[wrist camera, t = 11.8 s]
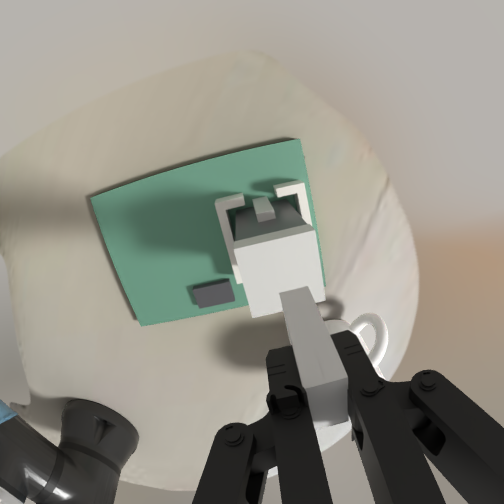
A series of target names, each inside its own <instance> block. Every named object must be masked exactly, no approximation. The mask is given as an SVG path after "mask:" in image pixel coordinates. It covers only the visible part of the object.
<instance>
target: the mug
mask: <svg viewBox="0 0 504 504" xmlns="http://www.w3.org/2000/svg"><path fill="white" fill-rule="evenodd" d="M324 323H325V325H326V327H327V329H328V332H329V334H330V335H331V334H335V333H338V332H342V331H345V330H349V331H351V332H352V333H354V334H355V335H356V336H357V337H358V339H359V341H360V343H361V345H362V346H363V348H364V351H365V352H366V354H367V356H368V358H369V359H370V361H371V363H372V365H373V367H374V369H375V371H376V373H377V374H378V375H379V377H382V378H384V376H383V374H382V372H381V371H380V369H379V367H378V364H379V363H380V361H381V359H382V358H383V356H384V354H385V351H386V348H387V344H388V331H387V327H386V324H385V322H384V321H383V319H382V318H381V317H380V316H378V315H377V314H374V313H366V314H363V315H361V316H359V317H358V318H357V319H355V320H354V321H353V322H352V324H351V323H349V322H347V321H343V320H328V321H324ZM367 324H371V325H372V326H373V327H374V329H375V332H376V340H375V344H374V347H373V349H372V350H371V352H370V351H369V349H368V347H367V346H366V344H365V342H364V341H363V339H362V337H361V335H360V334H359V332H360V331H361V329H362V328H363V327H364V326H366V325H367ZM384 379H385V378H384ZM349 421H350V417H349Z"/></svg>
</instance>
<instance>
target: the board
mask: <svg viewBox="0 0 504 504" xmlns="http://www.w3.org/2000/svg"><path fill="white" fill-rule="evenodd" d="M295 180H301V181H302V182H304V184H305V189H306V194H307V200H308V205H309V210H310V216H311V222H312V227H313V228H314V229H315V232H316V238H317V244H318V250H319V257H320V263H321V270H322V277H323V284H324V287H325V286H326V283H325V275H324V268H323V261H322V255H321V248H320V242H319V236H318V230H317V224H316V218H315V212H314V207H313V201H312V196H311V190H310V185H309V180H308V175H307V170H306V165H305V160H304V155H303V151H302V146H301V141H300V139H294V140H289V141H284V142H279V143H274V144H270V145H265V146H260V147H256V148H252V149H247V150H243V151H239V152H235V153H231V154H227V155H223V156H219V157H215V158H211V159H207V160H204V161H200V162H197V163H193V164H189V165H186V166H183V167H179V168H176V169H172V170H169V171H166V172H163V173H159V174H156V175H153V176H150V177H147V178H144V179H141V180H138V181H135V182H132V183H129V184H126V185H123V186H121V187H118V188H115V189H112V190H110V191H107V192H104V193H101V194H99V195H96V196H94V197H92V198H90V199H91V202H92V205H93V208H94V212H95V215H96V218H97V220H98V223H99V226H100V229H101V232H102V235H103V238H104V240H105V243H106V246H107V248H108V251H109V254H110V256H111V259H112V261H113V264H114V266H115V269H116V271H117V274H118V276H119V278H120V281H121V283H122V286H123V288H124V290H125V292H126V295H127V297H128V299H129V301H130V304H131V306H132V308H133V310H134V312H135V314H136V317H137V319H138V321H139V323H140V325H141V326H147V325H152V324H158V323H163V322H169V321H174V320H179V319H184V318H189V317H195V316H200V315H204V314H209V313H214V312H219V311H224V310H228V309H233V308H238V307H242V306H247V305H249V303H248V300H247V296H246V293H245V289H244V286H243V283H240V284H237V282H236V278H235V275H234V271H233V268H232V264H231V261H230V257H229V254H228V250H227V247H226V243H225V240H224V236H223V233H222V229H221V225H220V222H219V218H218V214H217V211H216V207H215V201H216V199H219V198H223V197H227V196H231V195H235V194H239V193H243V196H244V200H245V205H244V206H240V207H236V208H231V209H228V213H229V217H230V221H231V224H232V228H233V232H234V236H236V210H241V209H245V208H249V207H253V206H254V205H253V201H252V199H256V198H260V197H265V196H267V198H268V200H269V202H274V201H279V200H283V199H287V201H288V202H289V203H290V204H291V205H292V206H293V208H294V209H295V210H296V211H297V207H296V202H295V197H294V194H291V195H287V196H282V197H277V195H276V194H275V192H274V187H273V185H277V184H282V183H286V182H291V181H295Z"/></svg>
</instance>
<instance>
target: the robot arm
mask: <svg viewBox="0 0 504 504" xmlns="http://www.w3.org/2000/svg"><path fill="white" fill-rule="evenodd" d="M279 295H280V300H281V304H282V309H283V313H284V318H285V322H286V327H287V332H288V336H289V340H290V344H291V346H286V347H282V348H278V349H273V350H269V352H268V355H267V357H266V366H267V374H268V381H269V389H270V391H269V393H268V394H267V398H266V402H267V405H268V408H269V412H268V413H267V415H266V416H264V417H263V418H262V419H260V420H259V421H257V422H254V423H252V424H250V425H248V426H247V425H246V424H243V423H230V424H228V425H225V426H223V427H222V428H221V429H220V430H218V432H217V434H216V436H215V438H214V441H213V444H212V447H211V450H210V453H209V456H208V459H207V462H206V465H205V468H204V470H203V473H202V476H201V479H200V482H199V485H198V488H197V490H196V494H195V496H194V499H193V502H192V504H261V503H262V499H263V494H264V489H265V484H266V479H267V474H268V470H269V469H271V468H273V467H275V466H277V467H278V475H279V483H280V491H281V499H282V504H333V502H332V498H331V494H330V489H329V486H328V481H327V477H326V473H325V468H324V465H323V460H322V456H321V452H320V448H319V444H318V440H317V436H316V432H315V430H317V429H321V428H325V427H329V426H332V425H336V424H340V423H343V422H346V421H349V417H350V420H351V423H352V441H354V440H355V442H356V445H357V448H358V451H359V453H360V457H361V460H362V463H363V466H364V469H365V472H366V475H367V478H368V481H369V485H370V488H371V491H372V494H373V497H374V501H375V504H446V503H445V501H444V498H443V496H442V493H441V491H440V489H439V486H438V484H437V482H436V480H435V478H434V475H433V473H432V471H431V469H430V467H429V464H428V463H427V460H426V458H425V456H424V454H425V455H426V457H427V458H428V459H429V460H430V461H431V462H432V463H433V464H434V466H435V467H436V468H437V469H438V470H439V471H440V472H441V473H442V475H443V476H444V477H445V478H446V479H447V480H448V481H449V482H450V483H451V485H452V486H453V487H454V488H455V489H456V490H457V491H458V492H459V493H460V495H461V496H462V497H463V498H464V499H465V500H466V501H467V502H468V504H504V428H503V427H502V426H501V425H500V424H499V423H497V422H496V421H495V420H494V419H493V418H492V417H490V416H489V415H488V414H487V413H486V412H485V411H484V410H483V409H482V408H480V407H479V406H478V405H477V404H476V403H475V402H473V401H472V400H471V399H470V398H469V397H468V396H466V395H465V394H464V393H463V392H462V391H460V390H459V389H458V388H457V387H456V386H455V385H453V384H452V383H451V382H450V381H449V380H448V379H446V378H445V377H444V376H443V375H442V374H440V373H438V372H437V371H434V370H423V371H420V372H418V373H416V374H415V375H414V376H413V377H412V380H411V381H406V382H389V381H386V380H385V379H384V378H382V377H379V375H378V374H377V373H376V371H375V369H374V367H373V365H372V363H371V361H370V359H369V358H368V356H367V354H366V352H365V351H364V348H363V346H362V345H361V343H360V341H359V339H358V337H357V336H356V335H355V334H354V333H352V332H351V331H349V330H345V331H342V332H338V333H335V334H331V335H330V334H329V332H328V329H327V327H326V325H325V323H324V320H323V318H322V316H321V314H320V311H319V309H318V307H317V305H316V303H315V300H314V298H313V296H312V294H311V292H310V289H309V287H308V286H305V287H301V288H297V289H293V290H289V291H284V292H280V293H279ZM138 441H139V435H138V432H137V430H136V429H135V427H134V426H133V425H132V424H131V423H130V422H129V421H128V420H126V419H125V418H124V417H123V416H121V415H120V414H118V413H116V412H115V411H113V410H111V409H109V408H107V407H105V406H103V405H100V404H97V403H94V402H91V401H86V400H73V401H70V402H68V403H67V405H66V407H65V409H64V411H63V413H62V429H61V440H60V443H59V446H58V447H57V446H55V445H54V444H53V443H51V442H50V441H49V440H47V439H46V438H45V437H43V436H42V435H41V434H40V433H38V432H37V431H36V430H35V429H34V428H32V427H31V426H30V425H29V424H28V423H26V422H25V421H24V420H23V419H22V418H21V417H20V416H19V415H18V413H17V412H14V411H13V410H12V409H11V408H9V407H8V406H7V405H6V404H5V403H4V402H3V401H2V400H0V504H24V503H25V500H26V497H27V498H29V499H31V500H32V501H34V502H35V503H36V504H114V500H115V495H116V490H117V486H118V481H119V477H120V473H121V470H122V468H123V466H124V465H125V463H126V462H127V461H128V459H129V458H130V456H131V454H133V453H134V452H135V450H136V448H137V445H138ZM423 453H424V454H423Z"/></svg>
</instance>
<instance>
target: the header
mask: <svg viewBox="0 0 504 504" xmlns="http://www.w3.org/2000/svg"><path fill="white" fill-rule="evenodd" d="M273 187H274V192H275V194H276V195H277V197H282V196H287V195H291V194H294V197H295V202H296V207H297V212H298V214H299V215H300V216H301V217H302V218H303V219H304V221H305V222H306V223H307V224H310V225H311V226H312V222H311V216H310V210H309V205H308V200H307V194H306V189H305V184H304V182H302V181H301V180H295V181H291V182H286V183H282V184H277V185H273ZM244 205H245V200H244V196H243V193H239V194H235V195H231V196H227V197H223V198H219V199H216V201H215V207H216V211H217V214H218V218H219V222H220V225H221V229H222V233H223V236H224V240H225V243H226V247H227V250H228V254H229V257H230V261H231V264H232V268H233V271H234V275H235V278H236V282H237V284H240V283H243V282H242V279H241V275H240V271H239V268H238V264H237V261H236V257H235V253H234V250H233V247H234V241H235V236H234V232H233V228H232V224H231V221H230V217H229V213H228V209H231V208H236V207H240V206H244Z"/></svg>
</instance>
